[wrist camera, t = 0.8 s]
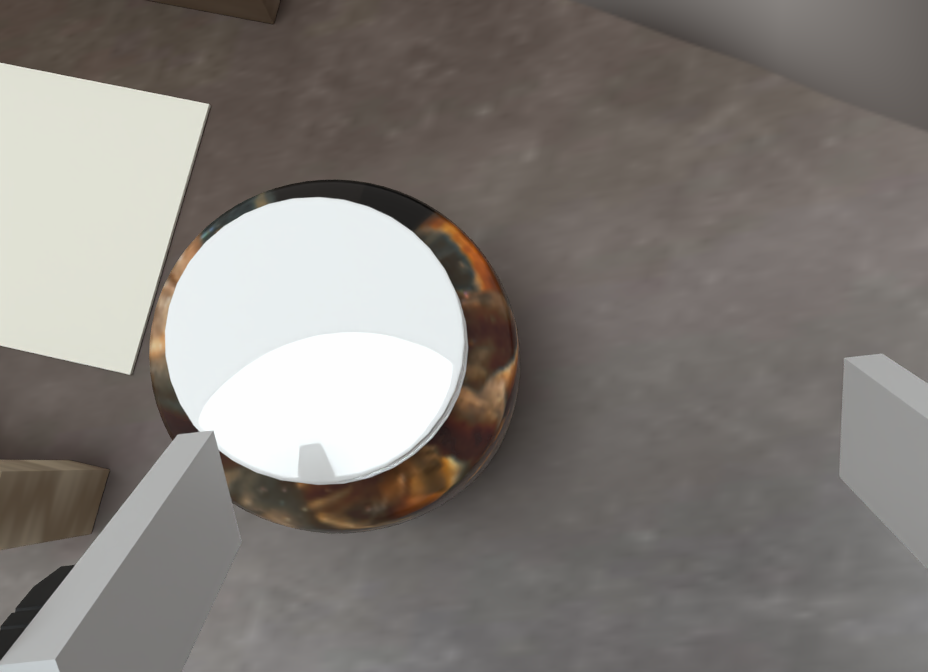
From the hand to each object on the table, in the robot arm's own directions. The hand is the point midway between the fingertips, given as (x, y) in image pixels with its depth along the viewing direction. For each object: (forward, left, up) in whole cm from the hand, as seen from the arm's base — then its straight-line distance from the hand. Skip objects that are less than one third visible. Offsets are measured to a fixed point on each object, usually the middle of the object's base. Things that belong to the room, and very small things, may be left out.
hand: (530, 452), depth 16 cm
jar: (+2, +6, -20) cm, 21 cm away
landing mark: (+7, +25, -19) cm, 33 cm away
